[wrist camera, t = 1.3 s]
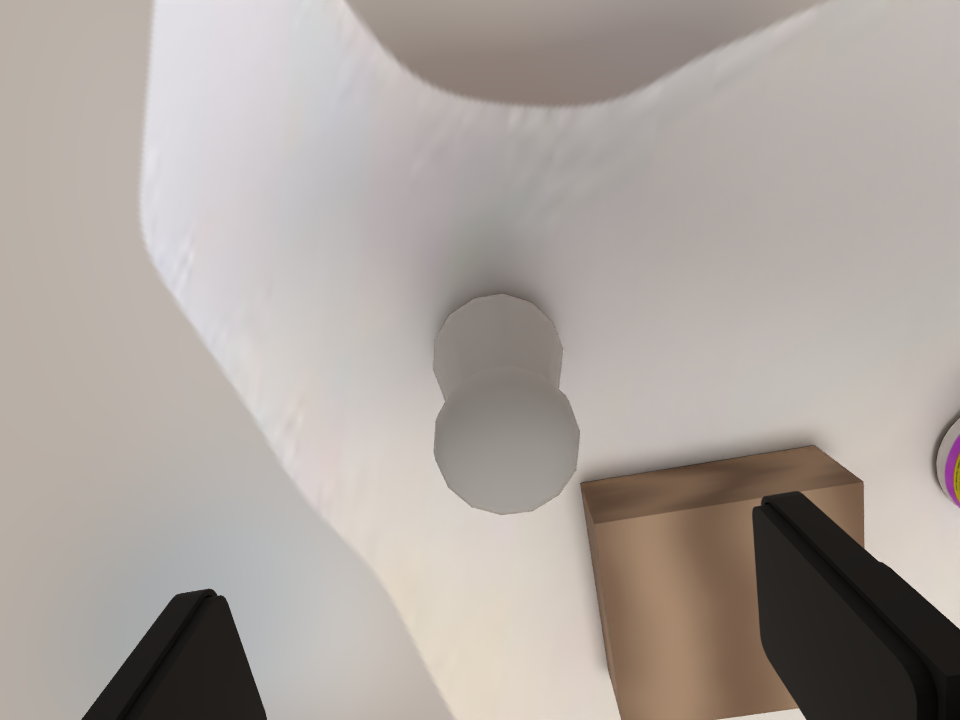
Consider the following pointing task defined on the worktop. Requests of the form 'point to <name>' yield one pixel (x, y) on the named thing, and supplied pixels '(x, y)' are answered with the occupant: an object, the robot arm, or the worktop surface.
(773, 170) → the worktop surface
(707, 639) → the walnut riser block
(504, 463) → the salt shaker
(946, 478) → the supplement bottle
